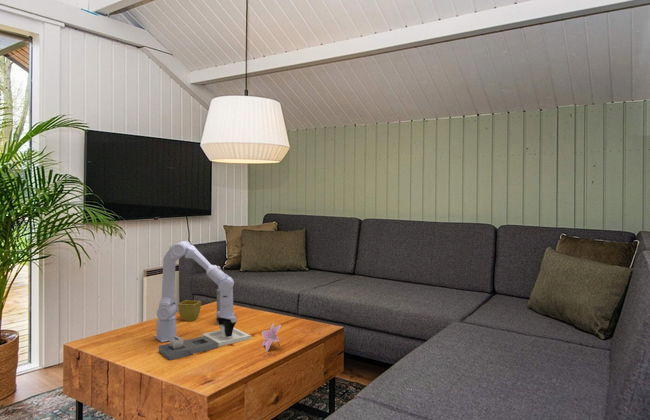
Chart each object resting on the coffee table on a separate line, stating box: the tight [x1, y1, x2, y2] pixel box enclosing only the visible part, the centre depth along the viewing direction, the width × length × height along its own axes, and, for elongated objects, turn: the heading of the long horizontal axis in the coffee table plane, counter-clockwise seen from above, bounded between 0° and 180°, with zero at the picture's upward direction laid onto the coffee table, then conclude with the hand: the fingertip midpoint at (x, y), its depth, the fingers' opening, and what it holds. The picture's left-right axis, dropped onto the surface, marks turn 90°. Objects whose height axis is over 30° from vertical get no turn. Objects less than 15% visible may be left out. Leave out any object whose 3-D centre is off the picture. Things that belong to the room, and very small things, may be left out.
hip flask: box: [216, 286, 234, 326], centre depth 226 cm, size 16×4×20 cm, turn 170°
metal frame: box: [158, 335, 218, 361], centre depth 185 cm, size 12×20×2 cm, turn 130°
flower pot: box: [177, 299, 202, 322], centre depth 229 cm, size 9×9×9 cm
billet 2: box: [219, 324, 233, 340], centre depth 199 cm, size 4×4×6 cm
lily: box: [261, 322, 282, 352], centre depth 190 cm, size 12×12×10 cm
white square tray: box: [201, 327, 252, 348], centre depth 199 cm, size 16×16×2 cm
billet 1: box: [169, 336, 184, 350], centre depth 181 cm, size 4×4×6 cm
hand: (226, 334), depth 199 cm, fingers open, 4 cm apart
